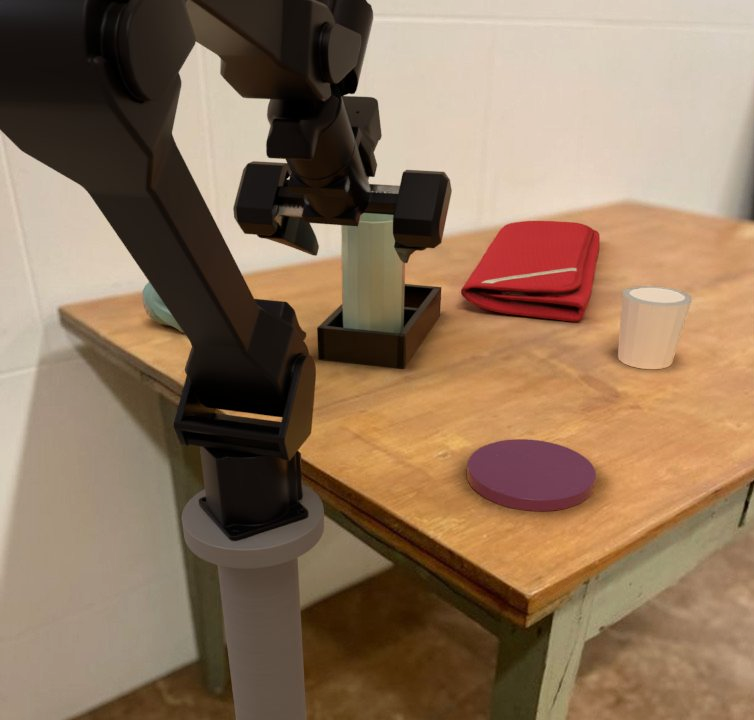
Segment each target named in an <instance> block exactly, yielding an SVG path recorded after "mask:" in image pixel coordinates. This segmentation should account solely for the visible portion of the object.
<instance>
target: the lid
mask: <svg viewBox="0 0 754 720" xmlns="http://www.w3.org/2000/svg"><path fill="white" fill-rule="evenodd" d="M596 476H597V473H596V469H595V467H594V466H593V464H592V463H591V461H590V460H589V459H588V458H586V457H585V456H584V455H583V454H581V453H579V452H578V451H575V450H574V449H571V448H569V447H567V446H564V445H562V444H557V443H555V442H550V441H545V440H538V439H528V438H527V439H526V438H523V439H521V438H520V439H519V438H518V439H517V438H515V439H504V440H498V441H495V442H490V443H487V444H485V445H483V446H481V447H479V448H477V449H476V450H474V452H472V453H471V455H470V456H469V458H468V461H467V469H466V477H467V482H468V484H469V485H470V487H471V488H472V489H473V490H474V491H475V492H476V493H477V494H478V495H480V496H482V497H483V498H485V499H487V500H489V501H491V502H493V503H495V504H498V505H500V506H503V507H507V508H512V509H515V510H521V511H528V512H529V511H531V512H553V511H558V510H559V511H560V510H564V509H569V508H573V507H575V506H577V505H580V504H581V503H583V502H585V501H587V499H589V498H590V496H591V495H592V493H593V492H594V490H595V489H594V488H595V484H596V478H597V477H596Z"/></svg>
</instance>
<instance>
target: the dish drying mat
mask: <svg viewBox="0 0 754 720" xmlns="http://www.w3.org/2000/svg"><path fill="white" fill-rule="evenodd" d="M600 241H601V239H600V232H599V231H597V230H595V229H594V228H592V227H591V226H589V225H587V224H584V223H580V222H574V221H573V222H572V221H557V220H524V221H516V222H510V223H507V224H505V225H503V226H502V227H501V228H500V229H499V231H498V232H497V233H496V235H495V237H494V239H493V240H492V242H491V243H490V244H489V245H488V247H487V249H486V251H485V253H484V254H483V255H482V257H481V259H480V260H479V262H478V264H477V265H476V267H475V268H474V269H473V271H472V272H471V274H470V275H469V277H468V278H467V280H466V281H465V283H464V285H463V286H462V287H461V290H460V292H461V296H462V297H463V299H465V300H466V301H468V303H471V304H472V305H474V306H476V307H478V308H481V309H484V310H487V311H492V312H496V313H500V314H506V315H515V316H523V317H530V318H538V319H539V318H540V319H547V320H557V321H563V322H564V321H566V322H578V321H581V319H582V318H583V316H584V315H585V313H586V309H587V307H588V304H589V302H590V299H591V295H592V291H593V286H594V285H593V284H594V281H595V274H596V266H597V261H598V258H599V252H600V246H601V245H600Z"/></svg>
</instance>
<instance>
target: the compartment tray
mask: <svg viewBox="0 0 754 720" xmlns="http://www.w3.org/2000/svg"><path fill="white" fill-rule="evenodd" d="M441 302H442V286H434V285H433V286H432V285H420V284H411V283H405V292H404V328H403V329H402V330H401V332H400V333H390V332H380V331H370V330H360V329H351V328H343V325H342V303H341V304H340V305H339V306H338V307H337V308H336V309H334V311H333V312H332V313H331V314H329V316H328V317H326V319H324V320H323V322H321V323H320V324H319V325H318V326H317V327H316V334H317V335H316V336H317V337H316V338H317V360H318V361H319V360H320V361H329V362H338V363H347V364H356V365H363V366H365V365H366V366H374V367H382V368H383V367H384V368H391V369H393V368H394V369H399V370H401V369H402V370H404V369H406V367H407V365H408V364H409V362H410V361H411V359H412V357H413V356H414V355H415V353H416V352H417V351H418V349H419V347H420V346H421V345H422V344H423V341H424V340H425V338H426V337H427V336H428V334H429V333H430V331H431V330H432V329H433V327H434V325H435V324H436V322H437V321H438V319H439V318H440V316H441V305H442V304H441Z"/></svg>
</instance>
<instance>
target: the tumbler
mask: <svg viewBox="0 0 754 720" xmlns="http://www.w3.org/2000/svg"><path fill="white" fill-rule="evenodd" d="M394 244H395V240H394V236H393V215H386V214H372V213H363V214H362V215H360V220H359V224H358V226H345V225H340V251H341V253H340V254H341V256H340V258H341V260H340V261H341V262H340V263H341V304H342V325H343V328H351V329H360V330H370V331H380V332H390V333H400V332H401V330H402V329H403V328H404V292H405V284H406V263H403V262H402V261H401V260H400V258H399V256H398V254H397V252H396V250H395V248H394Z"/></svg>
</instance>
